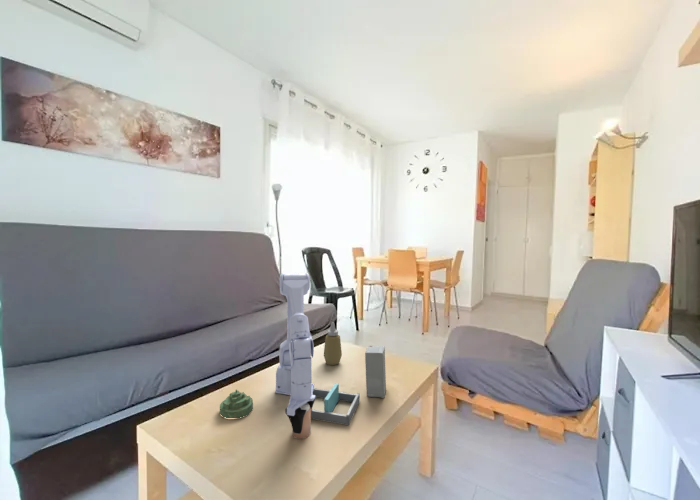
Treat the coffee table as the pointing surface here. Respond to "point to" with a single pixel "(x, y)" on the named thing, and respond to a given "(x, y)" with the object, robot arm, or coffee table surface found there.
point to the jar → (305, 423)
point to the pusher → (331, 398)
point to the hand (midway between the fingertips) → (301, 426)
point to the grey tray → (334, 416)
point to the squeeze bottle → (332, 346)
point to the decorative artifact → (236, 405)
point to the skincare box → (375, 371)
